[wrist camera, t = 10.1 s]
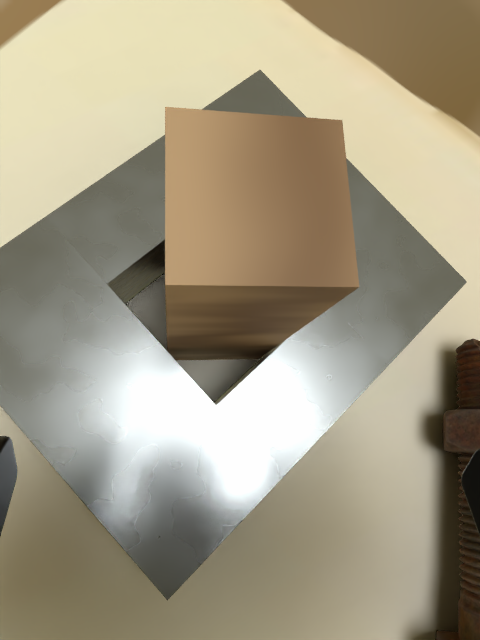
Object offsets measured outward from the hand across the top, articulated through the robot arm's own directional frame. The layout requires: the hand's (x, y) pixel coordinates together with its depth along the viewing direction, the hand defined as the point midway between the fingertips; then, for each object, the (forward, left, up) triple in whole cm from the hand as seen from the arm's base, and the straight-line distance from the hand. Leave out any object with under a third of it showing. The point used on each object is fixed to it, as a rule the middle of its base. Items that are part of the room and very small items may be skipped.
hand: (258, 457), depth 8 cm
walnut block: (+4, +4, -13) cm, 14 cm away
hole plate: (+4, +4, -13) cm, 14 cm away
